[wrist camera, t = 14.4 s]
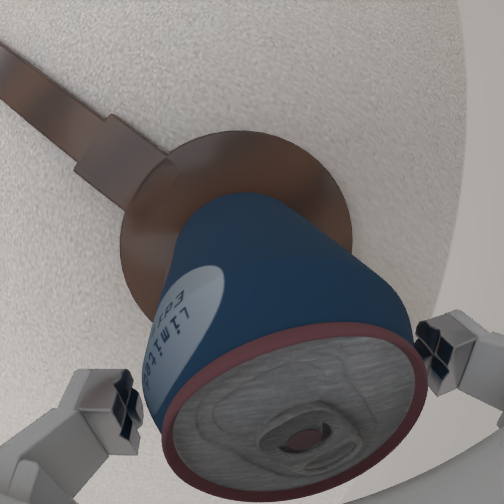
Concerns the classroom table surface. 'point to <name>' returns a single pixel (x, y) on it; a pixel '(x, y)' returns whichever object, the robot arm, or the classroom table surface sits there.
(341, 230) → the serving spoon
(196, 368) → the soda can
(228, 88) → the classroom table surface
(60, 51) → the classroom table surface
